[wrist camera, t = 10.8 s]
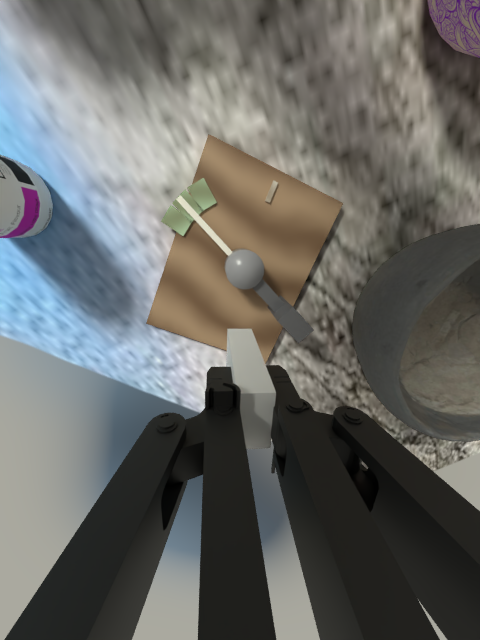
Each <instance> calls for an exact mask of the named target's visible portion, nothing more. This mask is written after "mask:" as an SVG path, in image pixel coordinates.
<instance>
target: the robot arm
mask: <svg viewBox="0 0 480 640" xmlns="http://www.w3.org/2000/svg"><path fill="white" fill-rule="evenodd" d="M271 438H272V442H273V445H274V450H273V459H272V468H271V469H272V473H274V472H275V468H276V472H277V475H278V479H279V483H280V487H281V491H282V495H283V498H284V502H285V506H286V510H287V514H288V518H289V521H290V525H291V529H292V533H293V537H294V541H295V545H296V548H297V552H298V556H299V560H300V563H301V567H302V572H303V575H304V579H305V583H306V587H307V591H308V595H309V598H310V602H311V606H312V610H313V613H314V617H315V621H316V625H317V629H318V633H319V637H320V640H440V639H439V638H438V636H437V634H436V632H435V630H434V628H433V627H432V625H431V623H430V621H429V619H428V618H427V616H426V614H425V612H424V610H423V609H422V607H421V605H420V603H419V601H420V602H421V604H422V605H423V607H424V608H425V609H426V611H427V612H428V613H429V615H430V616H431V617H432V619H433V620H434V622H435V623H436V624H437V626H438V627H439V629H440V630H441V631H442V633H443V634H444V635H445V637H446V638H447V639H448V640H480V511H479V510H477V509H476V508H475V507H474V506H473V505H472V504H470V503H469V502H468V501H467V500H466V499H465V498H463V497H462V496H461V495H460V494H459V493H457V492H456V491H455V490H454V489H453V488H452V487H450V486H449V485H448V484H447V483H446V482H445V481H444V480H442V479H441V478H440V477H439V476H438V475H437V474H435V473H434V472H433V471H432V470H431V469H430V468H428V467H427V466H426V465H425V464H424V463H423V462H421V461H420V460H419V459H418V458H417V457H416V456H414V455H413V454H412V453H411V452H410V451H409V450H407V449H406V448H405V447H404V446H403V445H401V444H400V443H399V442H398V441H397V440H396V439H394V438H393V437H392V436H391V435H390V434H389V433H387V432H386V431H385V430H384V429H383V428H382V427H380V426H379V425H378V424H377V423H376V422H375V421H373V420H372V419H371V418H370V417H369V416H368V415H366V414H365V413H364V412H362V411H361V410H358V409H356V408H353V407H348V406H341V407H338V408H336V409H335V411H334V414H333V415H330V414H325V413H320V412H316V411H314V410H313V408H312V406H311V405H310V404H309V403H308V402H307V401H305V400H303V399H301V398H300V397H299V395H298V393H297V391H296V389H295V387H294V385H293V384H292V383H291V380H290V378H289V376H288V374H287V372H286V370H285V369H283V368H282V367H281V366H279V365H268V366H266V365H265V362H264V360H263V357H262V354H261V352H260V349H259V347H258V344H257V342H256V339H255V336H254V334H253V331H252V329H227V359H226V367H211V368H210V369H209V371H208V372H207V387H206V391H205V409H204V410H203V411H202V412H201V413H200V414H199V415H197V416H195V417H192V418H189V419H186V420H185V419H184V417H182V416H181V415H180V414H176V413H164V414H160V415H158V416H156V417H154V418H153V419H152V420H151V421H150V422H149V423H148V425H147V426H146V428H145V429H144V431H143V432H142V434H141V435H140V437H139V438H138V440H137V441H136V443H135V444H134V446H133V447H132V449H131V450H130V452H129V453H128V455H127V456H126V458H125V459H124V461H123V462H122V464H121V465H120V467H119V468H118V470H117V472H116V473H115V474H114V476H113V477H112V479H111V480H110V482H109V483H108V485H107V486H106V488H105V489H104V491H103V492H102V494H101V495H100V497H99V498H98V500H97V501H96V503H95V504H94V506H93V507H92V509H91V511H90V512H89V513H88V515H87V516H86V518H85V519H84V521H83V522H82V524H81V525H80V527H79V528H78V530H77V532H76V533H75V535H74V536H73V537H72V539H71V540H70V542H69V544H68V545H67V546H66V548H65V549H64V551H63V552H62V554H61V555H60V557H59V559H58V560H57V561H56V563H55V565H54V566H53V568H52V569H51V571H50V572H49V574H48V575H47V577H46V578H45V580H44V581H43V583H42V584H41V586H40V587H39V589H38V590H37V592H36V593H35V595H34V596H33V598H32V599H31V601H30V602H29V604H28V605H27V607H26V608H25V610H24V611H23V613H22V614H21V616H20V617H19V619H18V620H17V622H16V623H15V625H14V626H13V628H12V629H11V631H10V632H9V634H8V635H7V637H6V638H5V640H132V637H133V635H134V632H135V629H136V626H137V623H138V621H139V617H140V615H141V612H142V609H143V606H144V604H145V601H146V598H147V595H148V592H149V589H150V587H151V584H152V581H153V578H154V575H155V572H156V570H157V567H158V564H159V561H160V558H161V556H162V553H163V550H164V547H165V544H166V542H167V539H168V536H169V533H170V530H171V527H172V525H173V522H174V519H175V516H176V513H177V511H178V508H179V505H180V502H181V499H182V496H183V493H184V491H185V488H186V485H187V480H189V479H192V478H195V477H197V476H200V475H203V497H202V529H201V558H200V589H199V621H198V640H276V635H275V628H274V622H273V616H272V609H271V603H270V597H269V590H268V584H267V578H266V572H265V565H264V559H263V552H262V546H261V539H260V533H259V527H258V521H257V515H256V508H255V501H254V496H253V489H252V482H251V477H250V470H249V463H248V457H247V451H246V449H258V448H259V449H260V448H270V446H271ZM362 461H363V462H364V463H365V464H366V465H367V466H368V467H369V468H368V469H366V468H365V467H364V466H363V465H362V464H361V462H362ZM418 600H419V601H418Z"/></svg>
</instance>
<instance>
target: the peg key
mask: <svg viewBox="0 0 480 640" xmlns="http://www.w3.org/2000/svg"><path fill="white" fill-rule="evenodd" d="M176 200H177V201H178V202H179V203H180V204H181V206H182V207H183V208H184V209H185V210H186V211H187V212H188V213H189V214H190V215H191V216H192V217H193V218H194V220H195V221H196V222H197V223H198V224H199V225H200V226H201V227H202V228H203V229H204V230H205V231H206V233H207V234H208V235H209V236H210V237H211V238H212V239H213V240H214V241H215V242H216V243H217V244H218V245H219V247H220V248H221V249H222V250H223V251H224V252H225V253H226V254H227V255H228V256H227V257H226V260H225V264H224V268H225V272H226V275H227V278H228V280H229V282H230V283H231V284H232V285H233V286H235V287H237V288H239V289H250V288H253V289H254V290H255V291H256V292H257V294H258V295H259V296H260V297H261V298H262V299H263V300H264V301H265V302H266V303H267V304H268V305H269V306H268V309H269V310H270V312H271V313H272V314H273V316H274V317H275V318H276V320H277V321H278V322H279V323H280V324H281V325H282V326H283V327H284V329H285V330H286V331H287V332H288V333H289V334H290V335H291V336H292V337H293V338H294V339H295V340H296V341H297V342H298V343H299V342H301V341H302V340H303V339H304V338H305V337H306V336H308V335H309V334H310V333H311V332H312V331H313V328H312V327H311V326H310V325H309V324H308V323H307V322H306V321H305V320H304V318H303V317H302V316H301V315H300V314H299V313H298V312H297V311H296V309H295V308H294V307H293V306H292V305H291V304H290V303H288V302H287V301H286V300H285V299H284V298H283V297H282V296H281V295H280V296H279V297H278V296H277V294H276V293H275V292H274V291H273V290H272V289H271V288H270V287H269V286H268V285H267V283H266V282H265V281H264V280H263V279H262V278H263V275H264V264H263V261H262V260H261V258H260V257H259V256H258V255H257V254H256V253H254V252H252V251H250V250H248V249H244V248H239V249H235V250H233V251H231V250H230V249H229V248H228V247H227V245H226V244H225V243H224V242H223V241H222V240H221V239H220V238H219V237H218V236H217V235H216V233H215V232H214V231H213V230H212V229H211V228H210V227H209V226H208V225H207V224H206V223H205V221H204V220H203V219H202V218H201V217H200V216H199V215H198V214H197V213H196V212H195V210H194V209H193V208H192V207H191V206H190V205H189V204H188V203H187V202H186V201H185V200H184V198H183V197H182V196H181V195H180V196H179V197H178V198H177V199H176Z"/></svg>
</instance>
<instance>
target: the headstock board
mask: <svg viewBox="0 0 480 640" xmlns="http://www.w3.org/2000/svg"><path fill="white" fill-rule="evenodd" d="M188 190H189V193H188V192H187V191H186V190H184V191H183V192H182V193H181V194H180V195H181V196H182V197H183V198H184V200H185V201H186V202H187V203H188V204H189V205H190V206H191V207H192V208H193V209H194V210H195V212H196V213H197V214H198V215H199V216H200V217H201V218H202V219H203V220H204V221H205V223H206V224H207V225H208V226H209V227H210V228H211V229H212V230H213V231H214V232H215V233H216V235H217V236H218V237H219V238H220V239H221V240H222V241H223V242H224V243H225V244H226V245H227V247H228V248H229V249H230V250H231V251H233V250H235V249H239V248H244V249H248V250H250V251H252V252H254V253H256V254H257V255H258V256H259V257H260V258H261V260H262V261H263V264H264V275H263V278H262V279H263V280H264V281H265V282H266V283H267V285H268V286H269V287H270V288H271V289H272V290H273V291H274V292H275V293H276V294H277V296H278V297H279V296H280V295H281V296H282V297H283V298H284V299H285V300H286V301H287V302H288V303H290V304H291V305H292V306H294V304H295V302H296V299H297V297H298V295H299V293H300V291H301V289H302V287H303V285H304V283H305V281H306V279H307V277H308V275H309V273H310V271H311V269H312V266H313V264H314V262H315V260H316V258H317V256H318V254H319V252H320V250H321V248H322V246H323V244H324V242H325V240H326V238H327V236H328V233H329V231H330V229H331V227H332V225H333V223H334V221H335V219H336V217H337V215H338V213H339V211H340V209H341V207H342V205H343V203H341V202H340V201H338V200H336V199H334V198H332V197H330V196H328V195H326V194H324V193H322V192H320V191H318V190H316V189H314V188H312V187H310V186H308V185H307V184H305V183H303V182H301V181H299V180H297V179H295V178H293V177H291V176H289V175H287V174H285V173H283V172H281V171H279V170H277V169H275V168H273V167H272V166H270V165H268V164H266V163H264V162H262V161H260V160H258V159H256V158H254V157H252V156H250V155H248V154H246V153H244V152H242V151H240V150H239V149H237V148H235V147H233V146H231V145H229V144H227V143H225V142H223V141H221V140H219V139H217V138H215V137H213V136H211V135H208V138H207V141H206V144H205V147H204V150H203V153H202V156H201V159H200V162H199V165H198V168H197V171H196V174H195V177H194V180H193V183H192V185H191V186H189V187H188ZM180 195H179V196H180ZM179 196H178V197H179ZM173 205H174V206H175V207H176V208H177V209H178V210H179V211H178V210H177V209H175V208H174V207H173V206H171V205H170V207H169V209H168V211H167V212H166V214H165V216H164V218H163V219H162V221H161V222H163V223H164V224H166V225H167V226H169V227H170V228H172V229H173V230H175V231H176V235H175V238H174V241H173V244H172V247H171V250H170V253H169V256H168V259H167V262H166V265H165V268H164V271H163V274H162V277H161V280H160V283H159V286H158V289H157V292H156V295H155V298H154V302H153V305H152V308H151V311H150V314H149V317H148V320H147V323H146V324H149V325H152V326H155V327H158V328H161V329H164V330H167V331H170V332H173V333H176V334H179V335H182V336H185V337H188V338H191V339H194V340H197V341H200V342H203V343H206V344H209V345H211V346H214V347H217V348H220V349H223V350H226V351H227V329H252V331H253V334H254V336H255V339H256V342H257V344H258V347H259V349H260V352H261V354H262V357H263V360H264V362H265V363H266V361H267V359H268V357H269V355H270V353H271V351H272V349H273V347H274V345H275V343H276V341H277V339H278V337H279V335H280V332H281V330H282V328H283V326H282V325H281V324H280V323H279V322H278V321H277V320H276V318H275V317H274V316H273V314H272V313H271V312H270V310H269V309H268V306H269V305H268V304H267V303H266V302H265V301H264V300H263V299H262V298H261V297H260V296H259V295H258V294H257V292H256V291H255V290H254V289H253V288H250V289H239V288H237V287H235V286H233V285H232V284H231V283H230V282H229V280H228V278H227V275H226V272H225V268H224V264H225V260H226V257H227V256H228V255H227V254H226V253H225V252H224V251H223V250H222V249H221V248H220V247H219V245H218V244H217V243H216V242H215V241H214V240H213V239H212V238H211V237H210V236H209V235H208V234H207V233H206V231H205V230H204V229H203V228H202V227H201V226H200V225H199V224H198V223H197V222H196V221H195V220H194V218H193V217H192V216H191V215H190V214H189V213H188V212H187V211H186V210H185V209H184V208H183V207H182V206H181V204H180V203H179V202H178V201H177V200H175V201H174V202H173Z"/></svg>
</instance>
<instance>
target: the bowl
mask: <svg viewBox="0 0 480 640" xmlns="http://www.w3.org/2000/svg"><path fill="white" fill-rule="evenodd" d="M352 332H353V342H354V346H355V349H356V353H357V357H358V359H359V362H360V365H361V367H362V370H363V373H364V375H365V377H366V380H367V382H368V384H369V385H370V387H371V389H372V390H373V392H374V393H375V395H376V397H377V398H378V399H379V400H380V401H381V402H382V404H383V405H384V406H385V407H386V408H387V409H388V411H390V412H391V413H392V414H393V415H394V416H396V417H397V418H398V419H400V420H401V421H402V422H404V423H405V424H406V425H408V426H409V427H411V428H413V429H415V430H417V431H419V432H421V433H423V434H426V435H428V436H431V437H434V438H437V439H442V440H448V441H463V442H471V441H478V440H480V224H477V225H471V226H465V227H461V228H457V229H453V230H449V231H445V232H442V233H438V234H435V235H431V236H429V237H426V238H424V239H421V240H419V241H417V242H415V243H413V244H411V245H409V246H407V247H405V248H404V249H402V250H401V251H399V252H398V253H396V254H395V255H394V256H392V257H391V258H390V259H389V260H387V261H386V262H385V263H383V264H382V265H381V266H380V268H379V269H378V270H377V271H376V272H375V273H374V275H373V276H372V277H371V279H370V280H369V281H368V282H367V284H366V285H365V287H364V289H363V290H362V292H361V294H360V296H359V298H358V301H357V304H356V307H355V310H354V316H353V324H352Z"/></svg>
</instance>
